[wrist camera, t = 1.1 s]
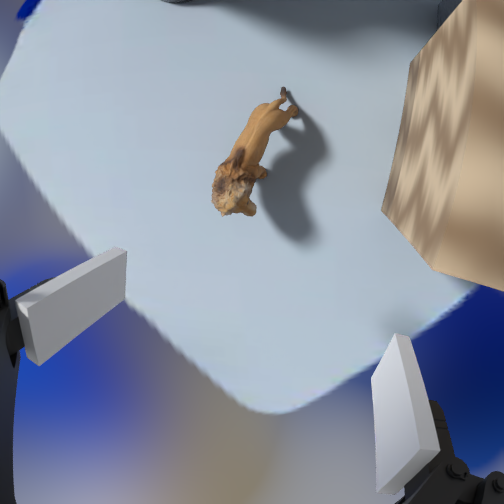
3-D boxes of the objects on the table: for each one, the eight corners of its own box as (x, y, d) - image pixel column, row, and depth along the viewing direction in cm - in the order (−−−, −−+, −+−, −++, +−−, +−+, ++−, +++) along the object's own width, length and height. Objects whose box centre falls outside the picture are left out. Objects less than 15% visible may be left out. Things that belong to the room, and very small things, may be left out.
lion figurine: (265, 213, 37) (245, 230, 29) (224, 197, 38) (193, 210, 30) (305, 94, 32) (297, 74, 24) (261, 81, 33) (239, 60, 25)
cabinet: (410, 63, 28) (475, -15, 9) (514, 108, 25) (620, 91, 7) (380, 210, 34) (432, 269, 15) (486, 244, 31) (579, 316, 13)
